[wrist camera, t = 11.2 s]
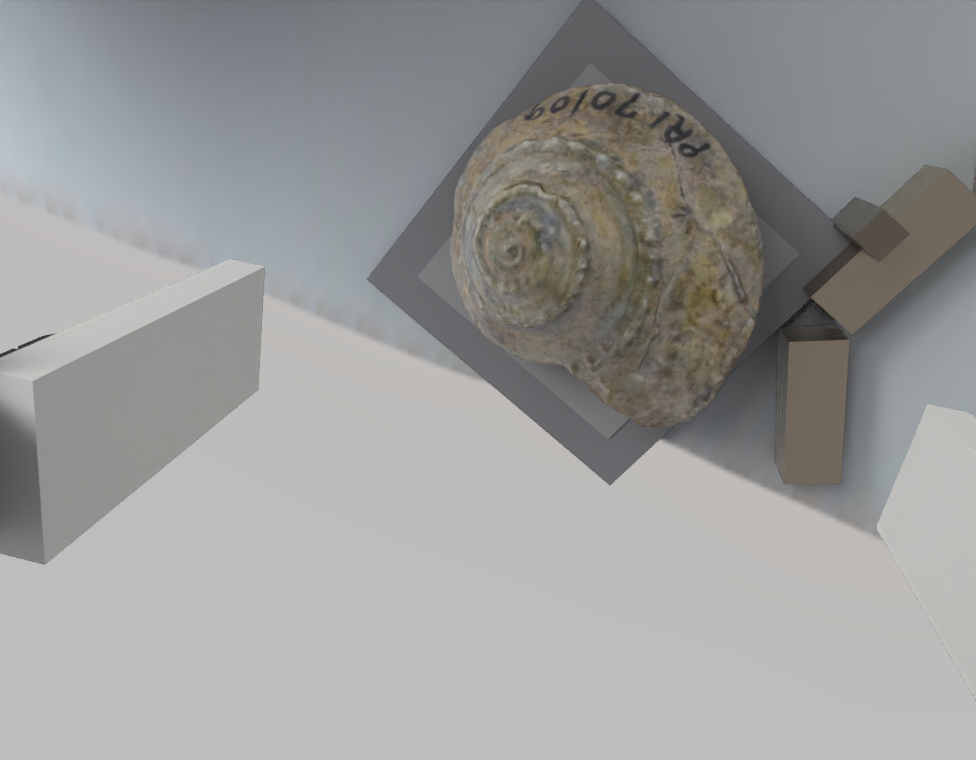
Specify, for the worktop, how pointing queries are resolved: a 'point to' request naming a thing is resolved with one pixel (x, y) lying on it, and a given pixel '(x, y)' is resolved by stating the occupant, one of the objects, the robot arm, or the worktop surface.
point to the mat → (553, 389)
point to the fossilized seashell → (611, 248)
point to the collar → (857, 312)
